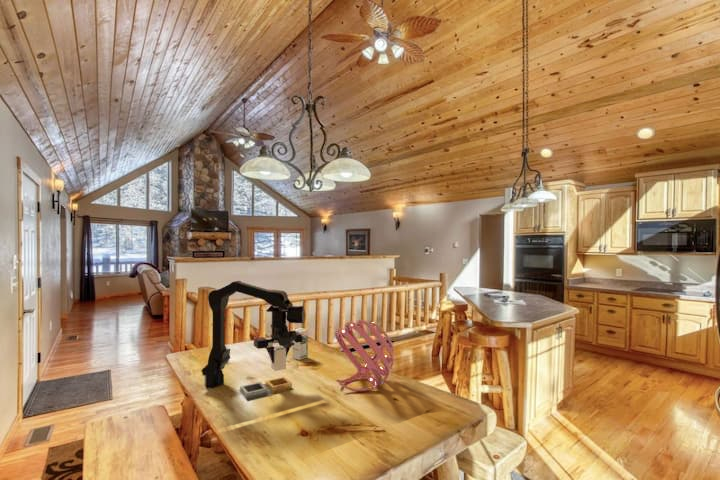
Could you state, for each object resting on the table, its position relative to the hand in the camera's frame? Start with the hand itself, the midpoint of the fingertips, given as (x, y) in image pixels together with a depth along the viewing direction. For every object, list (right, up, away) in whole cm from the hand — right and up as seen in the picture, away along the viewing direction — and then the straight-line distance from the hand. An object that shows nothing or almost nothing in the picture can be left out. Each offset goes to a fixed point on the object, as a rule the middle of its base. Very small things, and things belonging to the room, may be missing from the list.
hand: (278, 361), depth 138 cm
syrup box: (+2, -12, +40) cm, 42 cm away
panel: (-4, -11, -3) cm, 12 cm away
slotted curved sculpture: (+35, -11, +4) cm, 37 cm away
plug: (0, -3, 0) cm, 3 cm away
